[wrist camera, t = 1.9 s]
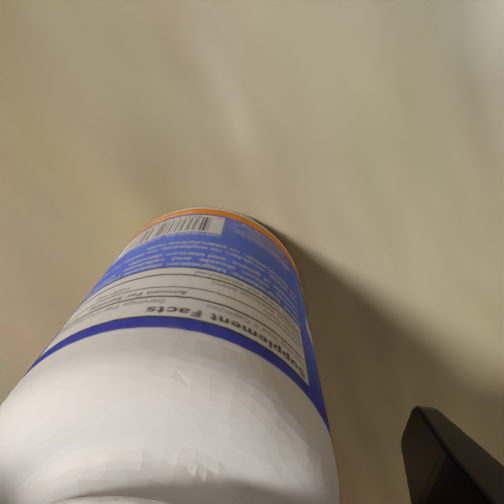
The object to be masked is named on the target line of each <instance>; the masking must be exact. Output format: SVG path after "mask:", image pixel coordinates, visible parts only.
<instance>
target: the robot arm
mask: <svg viewBox="0 0 504 504" xmlns="http://www.w3.org/2000/svg"><path fill="white" fill-rule="evenodd" d="M401 448H402V454H403V460H404V465H405V471H406V476H407V482H408V488H409V493H410V499H411V504H504V466H503V465H502V464H501V463H499V462H498V461H497V460H496V459H495V458H494V457H492V456H491V455H490V454H489V453H488V452H487V451H485V450H484V449H483V448H482V447H481V446H480V445H478V444H477V443H476V442H475V441H474V440H473V439H471V438H470V437H469V436H468V435H467V434H465V433H464V432H463V431H462V430H461V429H460V428H458V427H457V426H456V425H455V424H454V423H453V422H451V421H450V420H449V419H448V418H447V417H446V416H444V415H443V414H442V413H441V412H440V411H438V410H437V409H435V408H430V407H423V406H416V407H414V408H413V410H412V411H411V414H410V417H409V419H408V422H407V425H406V427H405V430H404V433H403V436H402V440H401Z"/></svg>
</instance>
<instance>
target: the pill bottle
mask: <svg viewBox="0 0 504 504" xmlns="http://www.w3.org/2000/svg"><path fill="white" fill-rule="evenodd" d="M0 504H340V488H339V479H338V473H337V467H336V462H335V455H334V450H333V445H332V440H331V435H330V430H329V424H328V420H327V415H326V410H325V405H324V400H323V395H322V390H321V385H320V380H319V375H318V369H317V364H316V359H315V353H314V347H313V342H312V336H311V332H310V326H309V320H308V315H307V310H306V304H305V298H304V293H303V288H302V284H301V281H300V277H299V274H298V271H297V268H296V265H295V263H294V261H293V259H292V257H291V256H290V254H289V253H288V251H287V249H286V248H285V247H284V246H283V245H282V243H281V242H280V241H279V240H278V239H277V238H276V237H275V236H274V235H273V234H272V233H271V232H270V231H268V230H267V229H266V228H265V227H263V226H262V225H260V224H259V223H257V222H256V221H254V220H252V219H250V218H248V217H247V216H244V215H242V214H239V213H236V212H233V211H230V210H226V209H220V208H213V207H195V208H187V209H182V210H178V211H175V212H172V213H169V214H166V215H164V216H162V217H160V218H158V219H156V220H154V221H153V222H151V223H150V224H148V225H147V226H146V227H144V228H143V229H142V230H140V231H139V232H138V233H137V234H136V235H135V236H134V237H133V238H132V240H131V241H130V242H129V243H128V244H127V245H126V246H125V248H124V249H123V250H122V252H121V253H120V254H119V256H118V257H117V258H116V260H115V261H114V262H113V264H112V265H111V266H110V268H109V269H108V270H107V272H106V273H105V274H104V275H103V277H102V278H101V279H100V281H99V282H98V283H97V284H96V286H95V287H94V288H93V290H92V291H91V292H90V293H89V295H88V296H87V297H86V298H85V300H84V301H83V302H82V304H81V305H80V306H79V307H78V309H77V310H76V311H75V312H74V314H73V315H72V316H71V318H70V319H69V320H68V321H67V323H66V324H65V325H64V326H63V328H62V329H61V330H60V331H59V333H58V334H57V335H56V336H55V338H54V339H53V340H52V341H51V343H50V344H49V345H48V346H47V348H46V349H45V350H44V351H43V352H42V354H41V355H40V356H39V357H38V359H37V360H36V361H35V363H34V364H33V365H32V367H31V368H30V369H29V370H28V372H27V373H26V374H25V375H24V377H23V378H22V379H21V380H20V382H19V383H18V384H17V385H16V387H15V388H14V389H13V390H12V392H11V393H10V394H9V395H8V397H7V398H6V399H5V401H4V402H3V403H2V405H1V406H0Z"/></svg>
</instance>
